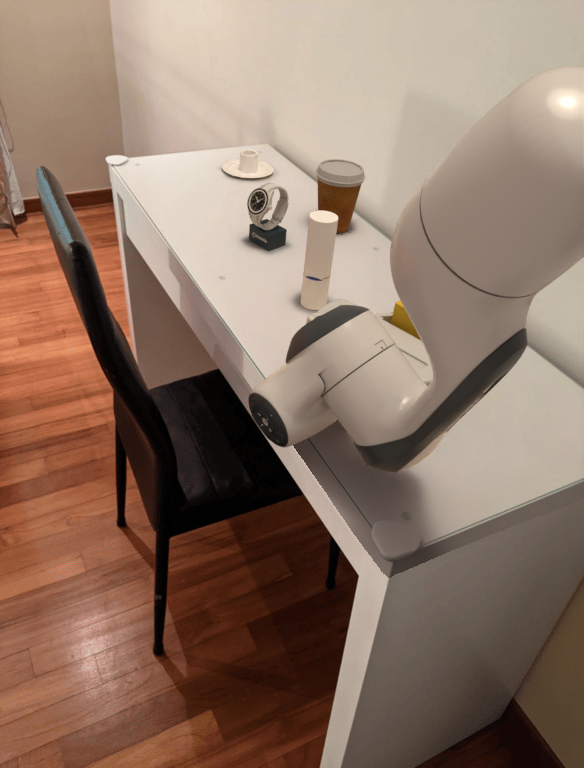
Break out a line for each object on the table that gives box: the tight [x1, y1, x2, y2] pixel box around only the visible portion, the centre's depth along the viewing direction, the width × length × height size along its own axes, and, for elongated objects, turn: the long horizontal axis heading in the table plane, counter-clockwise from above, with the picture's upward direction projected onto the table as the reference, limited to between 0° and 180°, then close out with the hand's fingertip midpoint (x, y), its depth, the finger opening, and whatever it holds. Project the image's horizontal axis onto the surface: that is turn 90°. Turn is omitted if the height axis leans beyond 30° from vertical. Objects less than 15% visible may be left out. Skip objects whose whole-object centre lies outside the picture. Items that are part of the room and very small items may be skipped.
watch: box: [246, 182, 290, 252], centre depth 112 cm, size 6×8×11 cm
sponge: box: [390, 299, 421, 340], centre depth 85 cm, size 5×4×9 cm
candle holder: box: [221, 149, 274, 179], centre depth 141 cm, size 12×12×4 cm
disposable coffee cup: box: [315, 158, 366, 234], centre depth 119 cm, size 10×10×12 cm
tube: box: [300, 210, 338, 311], centre depth 95 cm, size 4×4×15 cm
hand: (416, 325), depth 85 cm, fingers closed on sponge, 4 cm apart
